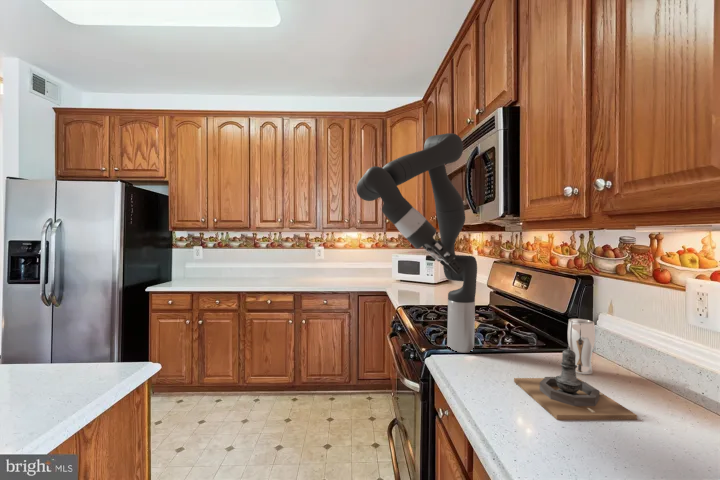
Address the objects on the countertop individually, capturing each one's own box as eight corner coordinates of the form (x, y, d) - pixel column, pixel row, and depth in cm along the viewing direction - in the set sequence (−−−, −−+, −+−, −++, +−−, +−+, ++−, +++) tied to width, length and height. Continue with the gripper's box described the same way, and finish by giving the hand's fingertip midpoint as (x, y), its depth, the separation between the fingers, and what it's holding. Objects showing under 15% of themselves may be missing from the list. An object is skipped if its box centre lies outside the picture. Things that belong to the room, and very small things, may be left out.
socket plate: (514, 381, 97) (514, 370, 97) (577, 381, 97) (578, 371, 97) (556, 419, 77) (557, 406, 77) (637, 419, 77) (637, 406, 77)
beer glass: (584, 376, 101) (585, 324, 101) (561, 368, 107) (562, 319, 107) (599, 373, 104) (600, 322, 103) (576, 365, 110) (577, 317, 110)
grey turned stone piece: (555, 396, 86) (556, 347, 85) (554, 387, 91) (555, 341, 91) (583, 402, 83) (584, 351, 83) (580, 392, 88) (581, 345, 88)
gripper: (430, 216, 88) (475, 262, 89) (419, 219, 103) (457, 258, 103) (409, 237, 88) (454, 283, 89) (401, 237, 102) (439, 276, 103)
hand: (456, 270), depth 96 cm, fingers open, 8 cm apart
